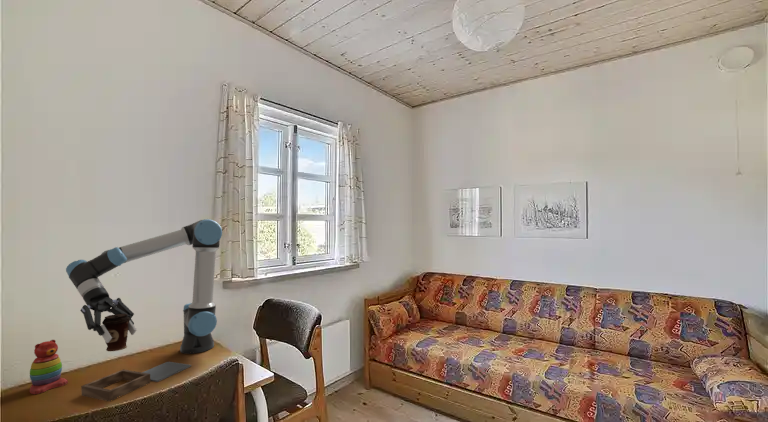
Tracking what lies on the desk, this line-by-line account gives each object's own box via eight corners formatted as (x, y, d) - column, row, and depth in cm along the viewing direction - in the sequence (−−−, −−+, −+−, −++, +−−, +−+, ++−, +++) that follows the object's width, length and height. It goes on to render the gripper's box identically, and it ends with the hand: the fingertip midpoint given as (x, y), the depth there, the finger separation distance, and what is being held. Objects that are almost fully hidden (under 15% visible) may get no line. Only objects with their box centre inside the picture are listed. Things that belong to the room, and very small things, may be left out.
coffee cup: (115, 354, 135) (114, 319, 135) (96, 353, 136) (95, 318, 136) (135, 345, 143) (134, 312, 143) (118, 344, 145) (117, 312, 145)
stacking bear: (34, 395, 136) (33, 347, 136) (22, 390, 141) (22, 344, 141) (69, 383, 146) (69, 339, 146) (57, 379, 150) (57, 336, 151)
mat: (168, 362, 164) (168, 361, 164) (191, 366, 159) (191, 364, 159) (133, 377, 149) (133, 376, 149) (157, 382, 144) (157, 380, 144)
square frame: (123, 377, 149) (123, 369, 149) (150, 382, 144) (150, 373, 144) (81, 395, 135) (81, 386, 135) (109, 401, 130) (109, 391, 130)
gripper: (116, 293, 155) (144, 333, 150) (57, 305, 135) (86, 352, 130) (125, 281, 154) (153, 321, 148) (66, 291, 134) (96, 339, 128)
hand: (122, 336), depth 139 cm, fingers closed on coffee cup, 9 cm apart
